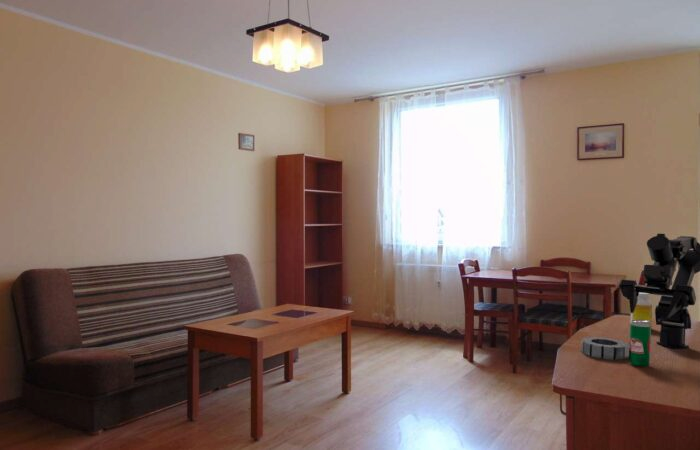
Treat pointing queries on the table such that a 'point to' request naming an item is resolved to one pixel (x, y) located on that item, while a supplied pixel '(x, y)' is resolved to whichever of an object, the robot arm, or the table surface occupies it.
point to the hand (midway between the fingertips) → (649, 314)
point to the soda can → (639, 343)
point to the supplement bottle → (643, 308)
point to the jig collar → (604, 348)
